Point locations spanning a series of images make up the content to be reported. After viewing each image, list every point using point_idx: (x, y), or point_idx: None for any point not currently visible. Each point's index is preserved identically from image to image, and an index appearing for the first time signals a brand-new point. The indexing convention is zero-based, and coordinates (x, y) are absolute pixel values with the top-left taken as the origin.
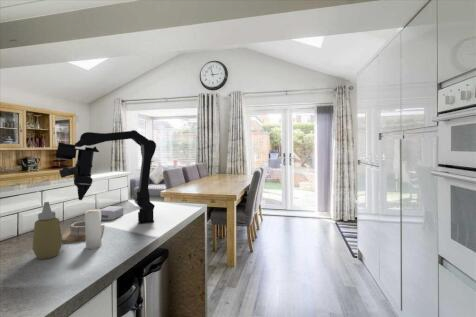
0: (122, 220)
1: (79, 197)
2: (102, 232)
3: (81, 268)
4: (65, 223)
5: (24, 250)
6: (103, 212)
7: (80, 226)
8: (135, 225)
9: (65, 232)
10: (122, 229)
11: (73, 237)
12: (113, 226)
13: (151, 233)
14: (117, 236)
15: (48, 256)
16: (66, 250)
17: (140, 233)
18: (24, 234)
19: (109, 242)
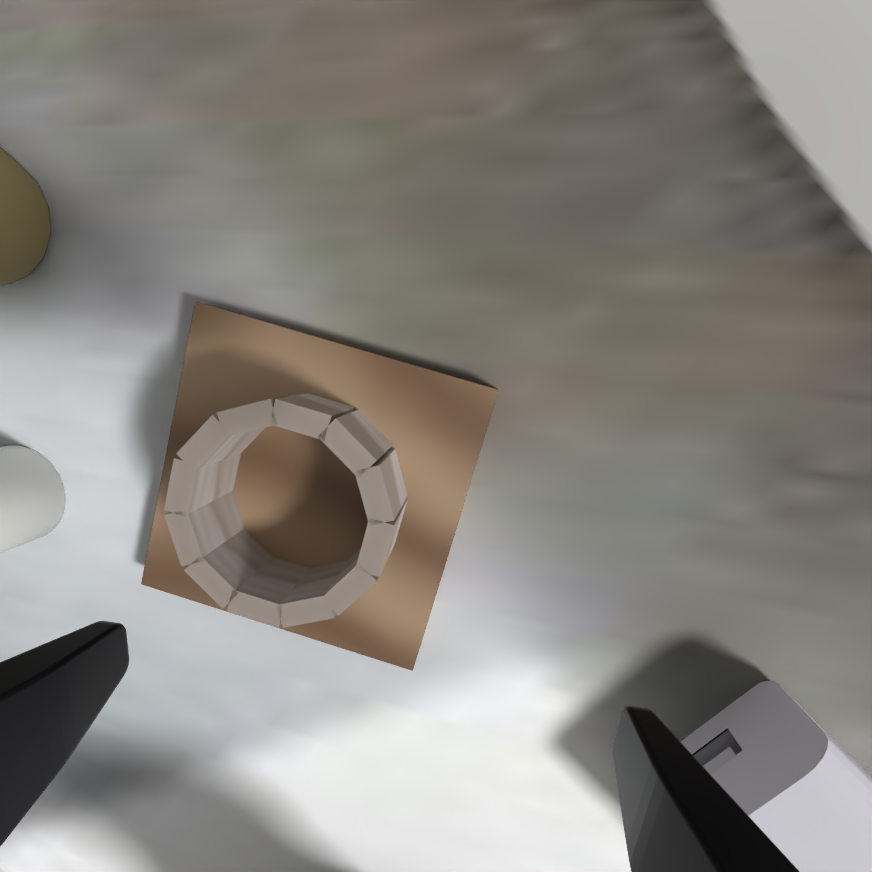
0: (543, 828)
1: (36, 665)
2: (212, 605)
3: None
4: (830, 409)
5: (197, 69)
6: (746, 784)
7: (191, 475)
8: (322, 847)
9: (393, 365)
10: (279, 743)
11: (207, 402)
12: (406, 719)
13: (72, 849)
14: (136, 666)
15: None
16: (36, 333)
17: (112, 799)
18: (686, 41)
19: (43, 590)
